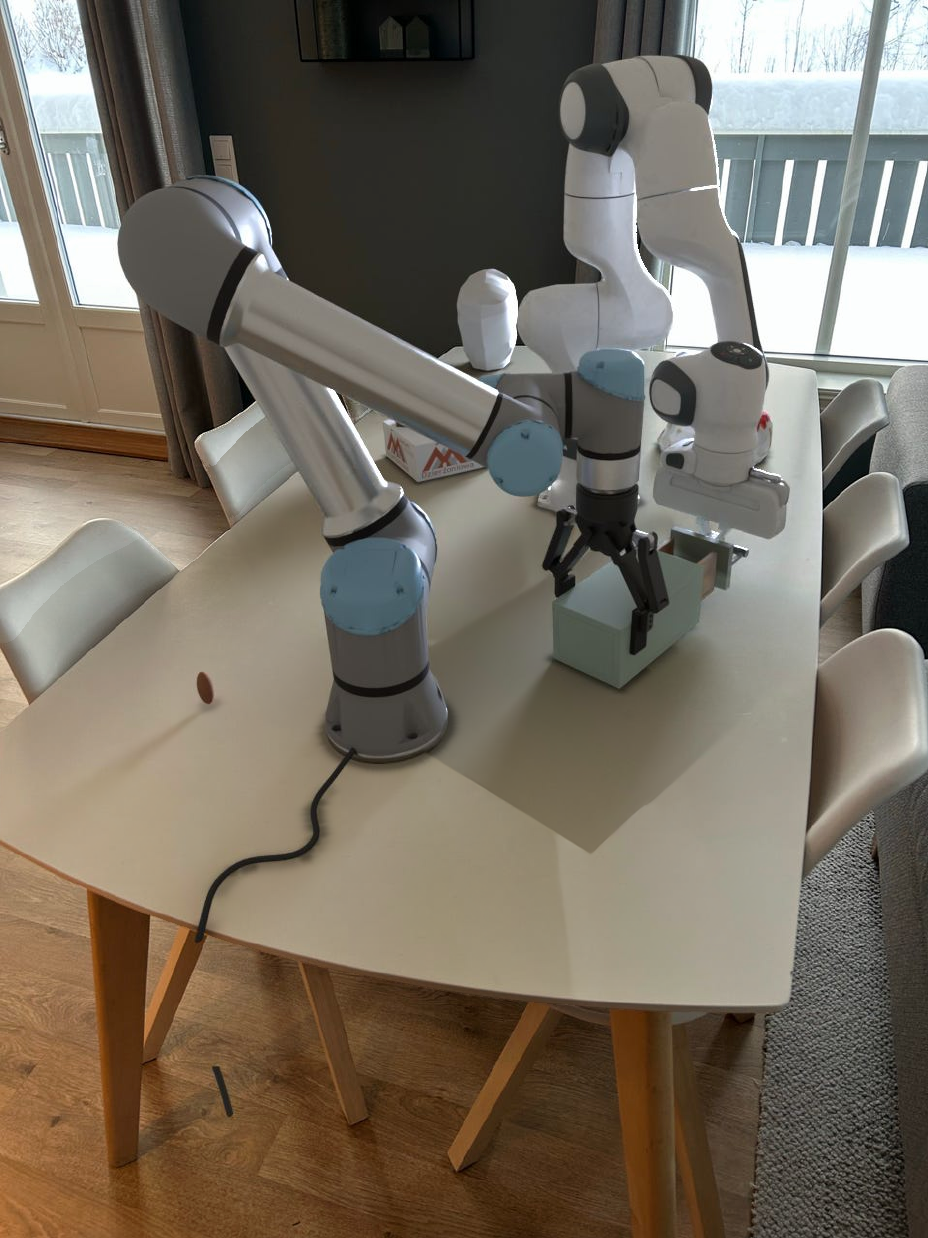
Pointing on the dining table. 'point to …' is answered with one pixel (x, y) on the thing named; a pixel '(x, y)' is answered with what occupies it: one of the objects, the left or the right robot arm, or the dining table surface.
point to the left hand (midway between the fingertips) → (600, 634)
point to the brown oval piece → (205, 687)
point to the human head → (488, 319)
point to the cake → (679, 433)
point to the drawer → (704, 556)
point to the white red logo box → (422, 454)
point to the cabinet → (622, 620)
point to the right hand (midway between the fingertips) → (712, 545)
